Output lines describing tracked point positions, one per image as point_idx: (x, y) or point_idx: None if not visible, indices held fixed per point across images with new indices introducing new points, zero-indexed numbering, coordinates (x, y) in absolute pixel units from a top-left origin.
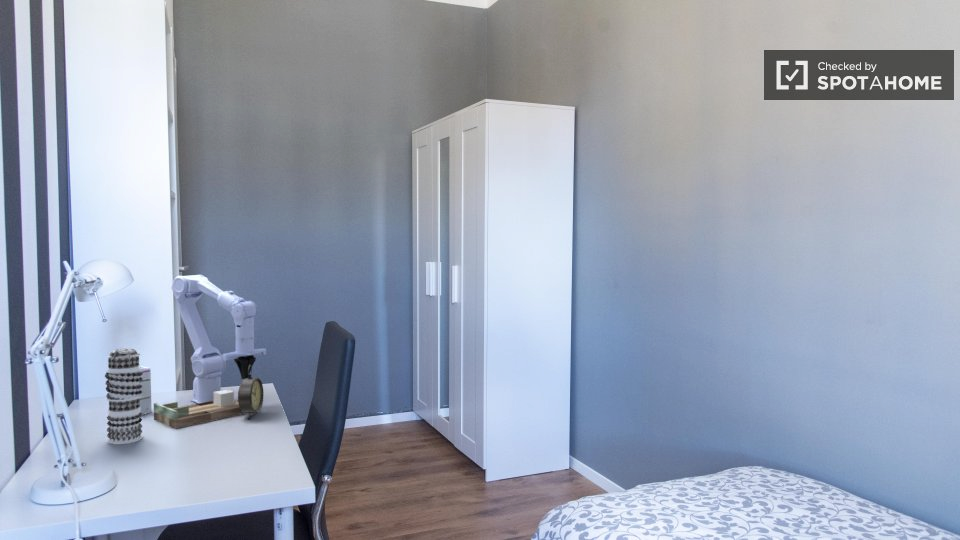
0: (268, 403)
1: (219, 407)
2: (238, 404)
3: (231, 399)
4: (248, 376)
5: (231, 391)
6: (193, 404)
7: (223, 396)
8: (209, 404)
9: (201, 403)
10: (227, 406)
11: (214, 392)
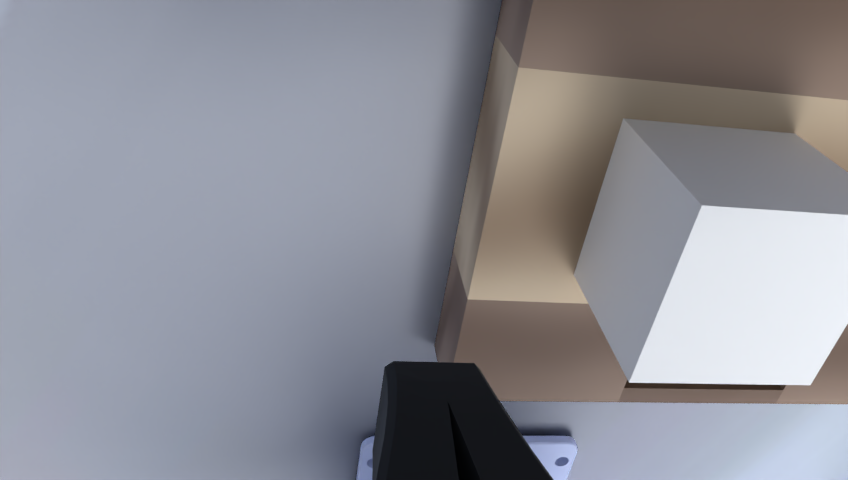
0: (53, 69)
1: (831, 114)
2: (610, 53)
3: (689, 151)
4: (408, 399)
5: (695, 251)
6: (800, 395)
7: (840, 195)
8: None
9: (730, 386)
10: (754, 80)
11: (821, 363)
